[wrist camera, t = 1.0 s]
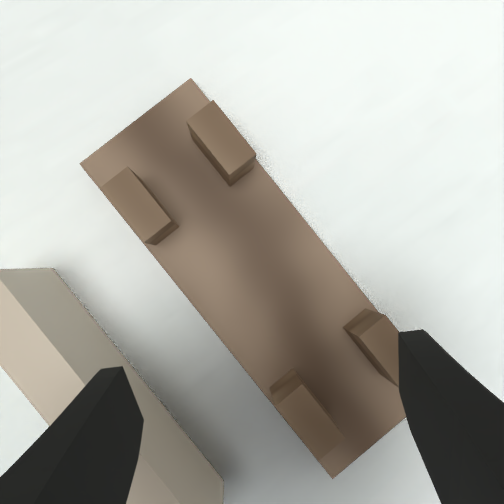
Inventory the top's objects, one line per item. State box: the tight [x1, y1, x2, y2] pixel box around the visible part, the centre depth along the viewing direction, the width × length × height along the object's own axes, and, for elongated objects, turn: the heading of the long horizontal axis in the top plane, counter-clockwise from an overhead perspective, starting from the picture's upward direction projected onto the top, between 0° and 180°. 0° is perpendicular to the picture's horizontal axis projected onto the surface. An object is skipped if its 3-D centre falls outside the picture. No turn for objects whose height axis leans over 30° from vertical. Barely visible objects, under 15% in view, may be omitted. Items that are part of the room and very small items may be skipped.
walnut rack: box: [80, 78, 406, 479], centre depth 22 cm, size 7×20×4 cm, turn 39°
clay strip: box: [0, 268, 224, 504], centre depth 20 cm, size 2×14×6 cm, turn 38°
